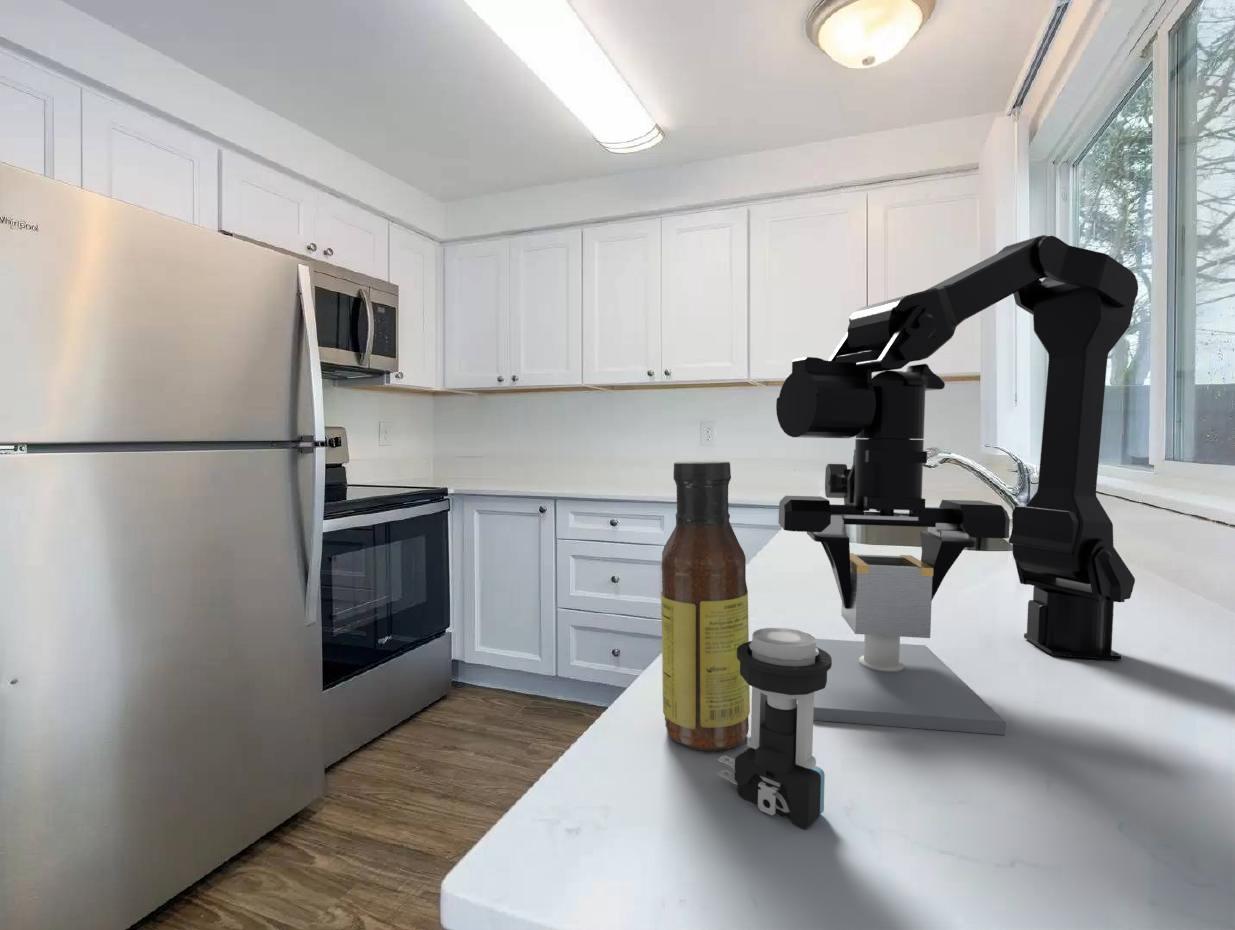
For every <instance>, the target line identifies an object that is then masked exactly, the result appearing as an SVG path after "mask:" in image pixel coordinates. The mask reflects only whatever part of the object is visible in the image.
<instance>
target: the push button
mask: <svg viewBox="0 0 1235 930" xmlns="http://www.w3.org/2000/svg"><path fill="white" fill-rule="evenodd" d="M751 637H752V639H751V640H750V641H749V642H746V643H743V644H741V645H740V646H738V648H737V659H738V660H739V661H740V675H741V676H742V677H743V678H744V680H745V681H746V682H747V683H748V684H749V687H750V686H751V710H750V712H751V713H750V714H751V717H750V718H751V719H750V721H751V722H750V737H748V738H747V739H746V740H747V744H746V745H747V747H748V748H747V749H746V750H745V751H742V752H741V753H740V754H738V755H736V756H735V758H733V757H731V756H727V755H725V754H724V755H721V756H720V757H719V758H717V761H718V762H720V763H723V764H725V765H727V766H730V768H732V769H733V770H734V772H731V771H729V770H727V769H722V770H720V771H719V772H718V773H717V776H718V777H720V778H722V779H723V778H724V779H725V780H728V781H730V783H731V784H733V785H737V787H736V788H737V789H736V791H737V795H738V796H739V797H740V798H741V799H743V800H745V801H747V802H750V803H752V804H755V805H757V808H758V809H759V811H761V812H763V813H766V814H768V815H770V816H775V815H776V814H778V815H779V816H782V817H784V818H787V819H788V820H790V821H791V823H792V824H793V825H794V826H796V827H798V828H800V829H803V830H805V829H808V828H809V826H810V825H811V824H812V823H813V822H815V820H816V819H818V818H819V817H820V816H821V815H822V814H823V813H824V810H825V780H826V779H825V778H826V777H825V776H826V775H825V771H824V770H823V768H821V767H819V766H817V758H816V756H813V742H814V737H813V736H814V720H813V712H814V692H816V691H818V690H821V689H824V688H825V687H826V683H827V671H828V670H829V669H830V668H831V666H832V658H831V656H830V655H829V654H828V653H827V652H825V651H824V650H822V649H820V648H817V647H816V639H817V638H816V637H815V636H814V635H812V634H810V633H809V632H805V631H801V630H799V629H792V628H787V627H766V628H759V629H755V631H753V633H752V636H751ZM727 760H728V761H727Z"/></svg>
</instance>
